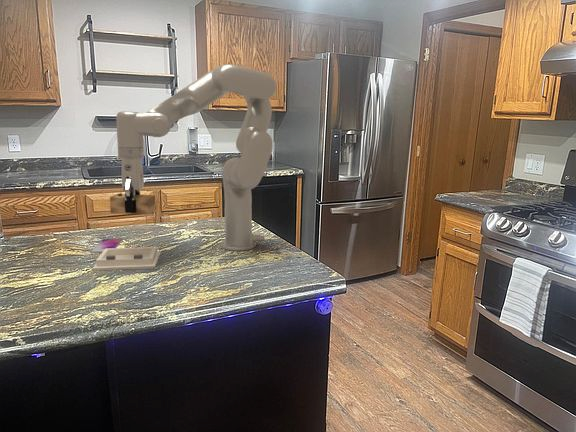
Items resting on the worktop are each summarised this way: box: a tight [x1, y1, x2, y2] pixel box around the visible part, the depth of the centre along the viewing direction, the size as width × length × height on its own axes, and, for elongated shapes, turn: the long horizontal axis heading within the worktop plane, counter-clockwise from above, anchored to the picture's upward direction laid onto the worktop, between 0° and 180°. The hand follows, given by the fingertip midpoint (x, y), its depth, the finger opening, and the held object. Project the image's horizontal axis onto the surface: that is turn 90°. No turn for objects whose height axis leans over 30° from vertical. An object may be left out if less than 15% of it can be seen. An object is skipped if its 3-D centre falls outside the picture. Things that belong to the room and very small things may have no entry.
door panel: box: [109, 193, 156, 216], centre depth 135 cm, size 12×6×6 cm, turn 90°
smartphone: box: [89, 238, 123, 254], centre depth 151 cm, size 7×1×15 cm
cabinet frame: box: [92, 246, 162, 272], centre depth 136 cm, size 18×14×4 cm
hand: (133, 209), depth 135 cm, fingers closed on door panel, 6 cm apart
